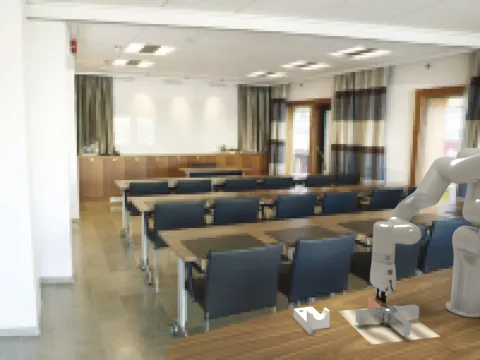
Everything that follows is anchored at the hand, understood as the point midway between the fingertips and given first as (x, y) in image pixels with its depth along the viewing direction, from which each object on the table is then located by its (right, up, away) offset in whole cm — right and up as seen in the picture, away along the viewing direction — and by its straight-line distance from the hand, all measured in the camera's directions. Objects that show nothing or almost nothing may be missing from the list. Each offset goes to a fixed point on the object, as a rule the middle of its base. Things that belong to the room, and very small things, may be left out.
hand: (380, 306), depth 153 cm
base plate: (-1, -5, -8) cm, 9 cm away
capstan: (-1, -3, -9) cm, 10 cm away
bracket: (-26, -5, -6) cm, 27 cm away
